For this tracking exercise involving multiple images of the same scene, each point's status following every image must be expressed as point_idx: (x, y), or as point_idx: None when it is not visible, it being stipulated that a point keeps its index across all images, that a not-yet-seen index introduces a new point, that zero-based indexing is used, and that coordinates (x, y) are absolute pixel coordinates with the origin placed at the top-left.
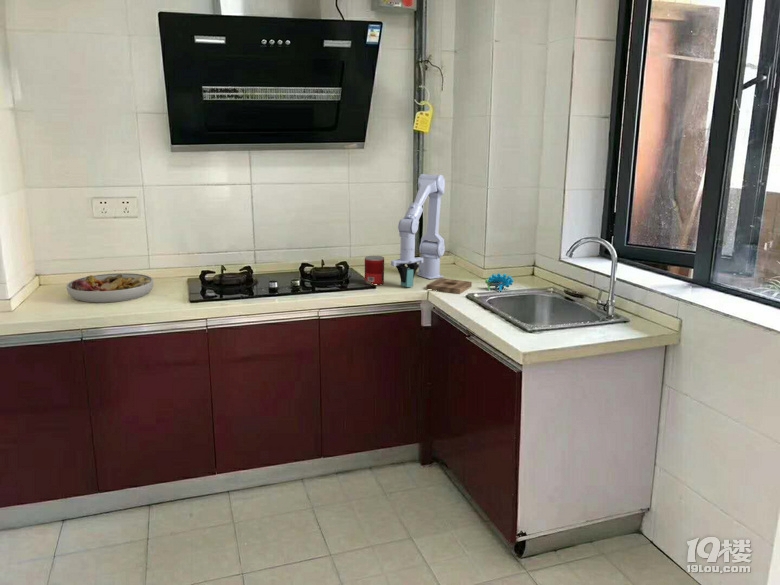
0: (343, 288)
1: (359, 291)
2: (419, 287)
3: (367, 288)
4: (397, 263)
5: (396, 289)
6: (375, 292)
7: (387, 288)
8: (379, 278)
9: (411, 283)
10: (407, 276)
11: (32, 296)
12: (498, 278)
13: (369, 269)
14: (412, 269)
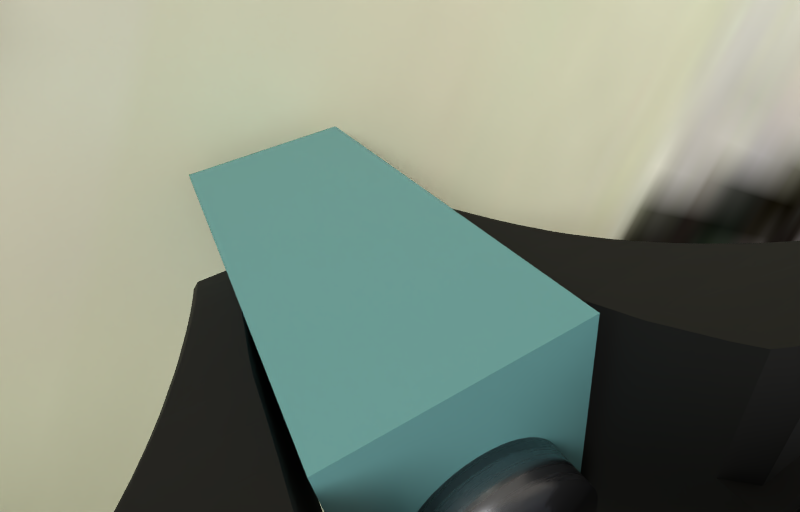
0: (781, 239)
1: (788, 119)
2: (9, 176)
3: (685, 219)
4: None
5: (490, 113)
6: (742, 27)
7: (553, 192)
8: None
9: (246, 186)
10: (445, 215)
11: None
12: None
13: None
14: (352, 472)
